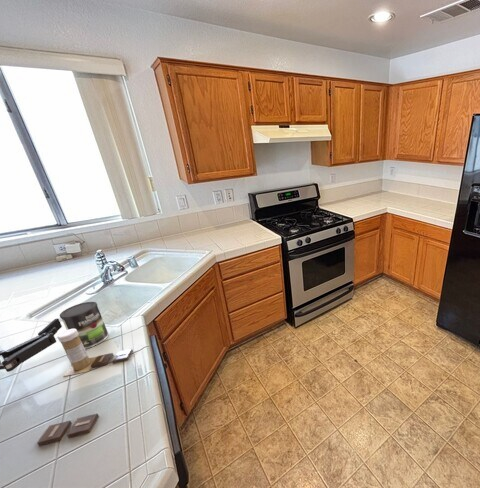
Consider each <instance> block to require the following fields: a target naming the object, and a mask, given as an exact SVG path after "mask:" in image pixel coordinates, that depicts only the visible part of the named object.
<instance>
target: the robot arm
mask: <svg viewBox="0 0 480 488" xmlns="http://www.w3.org/2000/svg"><path fill="white" fill-rule="evenodd" d="M61 328H63V325H62V324H61V321H60V319H59V318H54V319H53V320H52V321H51V322H49V323H48V324H47V325H46V326H44V328H43V329H42V330H40V331H39V332H38V333H37V336H35V337H32V338H29V339H28V340H26V341H23V342H21V343H19V344H17V345H15V346H12V347H11V348H8V349H7V350H6V349H5V350H4V349H3V350H0V357H2V359H3V361H1V360H0V371H1V370H5V371H6V372H7V373H9V372H12V371H14V370H15V369H17V368H18V367H19V366H20V365H21V364H23V363H24V362H26V361H27V360H28V361H29V359H31V358H32V357H34V356H36V355H37V354H39V353H41V352H42V351H44V350H46V349H47V348H49V347H50V346H52V345H54V344H56V343H57V339H56V337H55V335H56V334H57V333H58V331H60V329H61Z"/></svg>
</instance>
